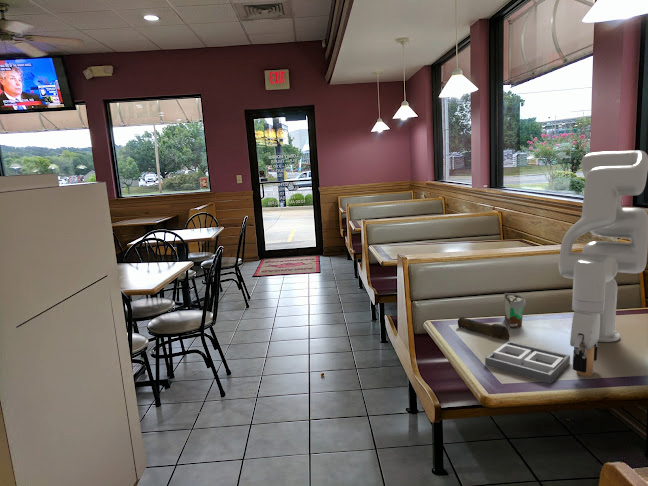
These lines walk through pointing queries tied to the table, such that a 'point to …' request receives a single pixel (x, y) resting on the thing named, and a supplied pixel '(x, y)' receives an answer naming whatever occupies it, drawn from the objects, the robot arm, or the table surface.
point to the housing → (528, 361)
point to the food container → (514, 309)
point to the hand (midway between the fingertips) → (584, 365)
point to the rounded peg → (588, 363)
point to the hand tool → (485, 328)
